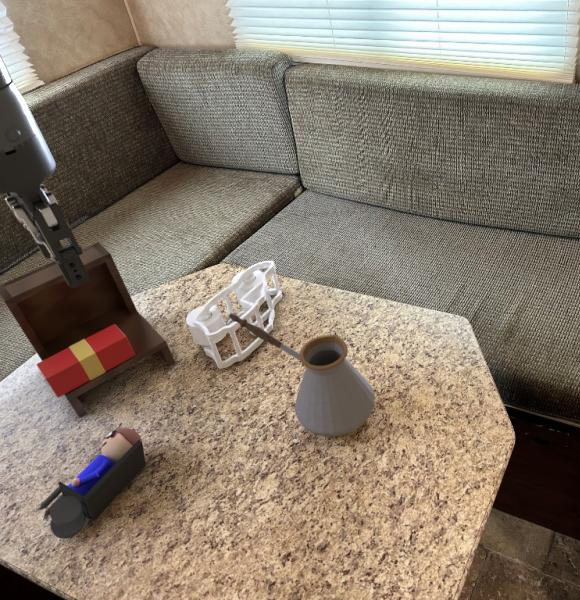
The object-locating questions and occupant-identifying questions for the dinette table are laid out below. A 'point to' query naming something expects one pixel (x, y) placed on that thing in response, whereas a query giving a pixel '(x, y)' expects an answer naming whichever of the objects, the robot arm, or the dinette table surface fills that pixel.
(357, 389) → the coffee pot
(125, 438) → the character figurine
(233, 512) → the dinette table surface
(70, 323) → the shelf rack
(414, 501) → the dinette table surface
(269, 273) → the car outline toy
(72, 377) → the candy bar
